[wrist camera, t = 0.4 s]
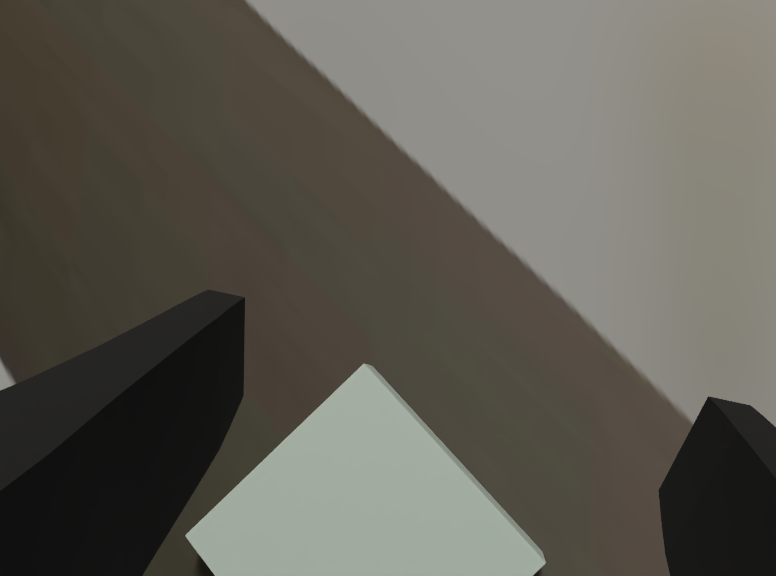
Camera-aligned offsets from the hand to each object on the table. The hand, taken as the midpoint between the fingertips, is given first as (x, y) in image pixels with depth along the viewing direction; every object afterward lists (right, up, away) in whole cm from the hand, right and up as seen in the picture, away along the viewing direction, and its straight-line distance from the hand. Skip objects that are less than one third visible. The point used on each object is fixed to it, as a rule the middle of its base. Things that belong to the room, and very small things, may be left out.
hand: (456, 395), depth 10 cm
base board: (-2, -13, +26) cm, 29 cm away
